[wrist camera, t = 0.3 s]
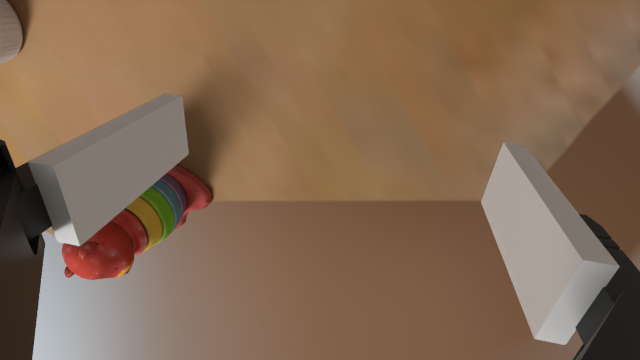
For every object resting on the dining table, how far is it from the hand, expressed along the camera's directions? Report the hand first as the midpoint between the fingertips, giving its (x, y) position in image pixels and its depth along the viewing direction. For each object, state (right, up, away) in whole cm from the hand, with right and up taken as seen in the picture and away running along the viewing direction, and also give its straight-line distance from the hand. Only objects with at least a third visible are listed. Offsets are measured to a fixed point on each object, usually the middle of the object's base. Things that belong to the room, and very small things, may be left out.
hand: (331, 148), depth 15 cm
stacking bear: (-23, -3, +39) cm, 45 cm away
